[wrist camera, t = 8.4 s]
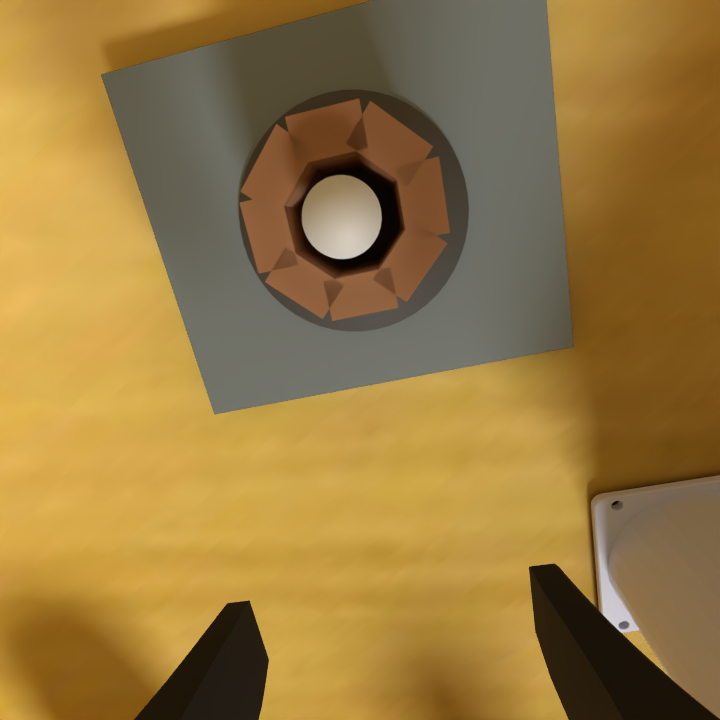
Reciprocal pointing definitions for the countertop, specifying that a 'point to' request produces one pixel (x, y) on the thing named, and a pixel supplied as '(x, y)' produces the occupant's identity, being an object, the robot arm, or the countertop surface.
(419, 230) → the collar
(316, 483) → the countertop surface
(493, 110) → the post board
